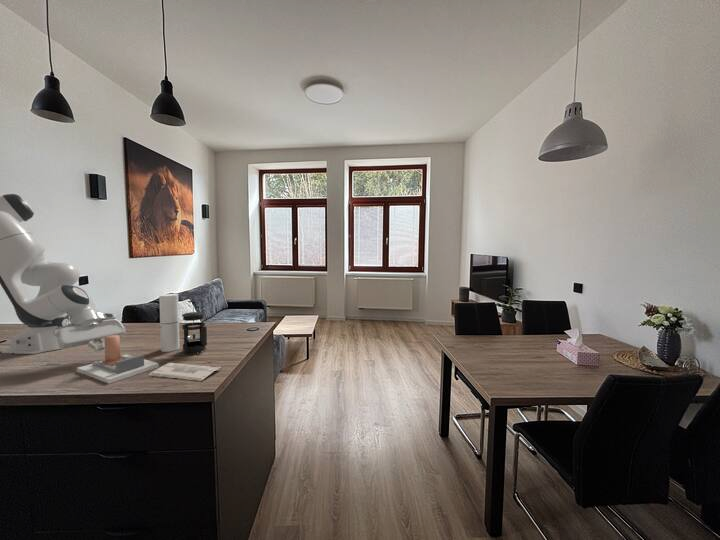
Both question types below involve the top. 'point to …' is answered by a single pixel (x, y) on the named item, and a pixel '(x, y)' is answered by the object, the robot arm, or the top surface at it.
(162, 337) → the cylindrical container
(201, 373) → the newspaper
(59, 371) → the top surface
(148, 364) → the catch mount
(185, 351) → the french press
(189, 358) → the top surface
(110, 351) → the knob plunger
